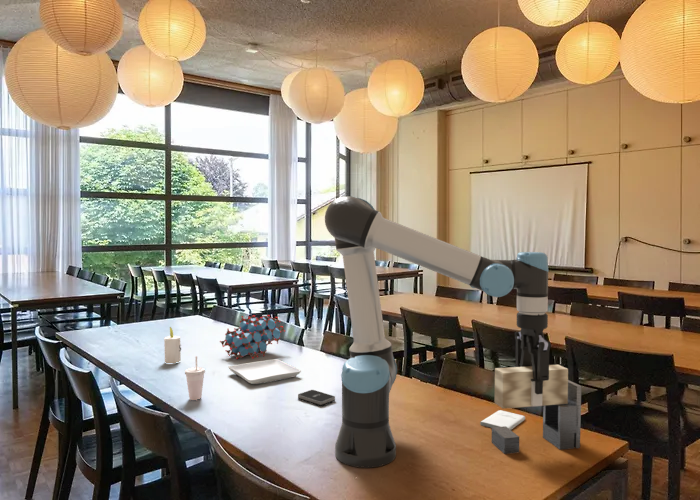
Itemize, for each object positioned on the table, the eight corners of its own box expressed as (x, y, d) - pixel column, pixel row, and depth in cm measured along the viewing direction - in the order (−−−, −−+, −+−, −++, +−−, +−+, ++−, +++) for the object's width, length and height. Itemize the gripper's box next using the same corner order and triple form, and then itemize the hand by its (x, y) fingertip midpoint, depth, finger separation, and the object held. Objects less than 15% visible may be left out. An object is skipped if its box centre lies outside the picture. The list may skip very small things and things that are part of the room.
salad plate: (302, 378, 193) (302, 369, 193) (249, 389, 181) (249, 379, 181) (276, 366, 211) (276, 358, 210) (227, 375, 198) (227, 366, 198)
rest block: (504, 453, 129) (504, 438, 128) (491, 442, 135) (491, 427, 135) (519, 452, 129) (519, 436, 129) (505, 441, 136) (505, 426, 136)
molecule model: (231, 343, 212) (274, 305, 226) (214, 338, 222) (255, 302, 236) (250, 372, 218) (290, 334, 232) (232, 366, 229) (271, 329, 243)
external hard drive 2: (480, 426, 147) (498, 414, 157) (507, 434, 142) (525, 421, 152) (480, 421, 147) (498, 409, 157) (507, 428, 142) (525, 415, 151)
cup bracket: (559, 449, 131) (561, 387, 130) (542, 437, 139) (543, 378, 138) (580, 447, 132) (581, 386, 131) (562, 435, 140) (563, 377, 139)
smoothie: (209, 398, 170) (208, 356, 169) (191, 403, 165) (191, 360, 165) (199, 394, 174) (198, 353, 174) (181, 398, 170) (180, 356, 169)
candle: (178, 364, 212) (177, 328, 211) (162, 364, 212) (161, 328, 212) (183, 360, 218) (182, 325, 218) (168, 360, 219) (167, 325, 218)
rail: (502, 408, 129) (503, 373, 129) (494, 402, 134) (494, 368, 133) (567, 403, 133) (568, 369, 132) (557, 398, 137) (558, 364, 137)
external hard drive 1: (312, 395, 175) (312, 389, 175) (336, 402, 167) (336, 396, 167) (297, 400, 170) (297, 394, 169) (321, 408, 162) (321, 402, 162)
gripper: (565, 317, 124) (564, 413, 125) (527, 306, 141) (526, 390, 142) (537, 318, 123) (536, 415, 124) (502, 307, 140) (501, 392, 141)
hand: (531, 402), depth 133 cm, fingers closed on rail, 4 cm apart
